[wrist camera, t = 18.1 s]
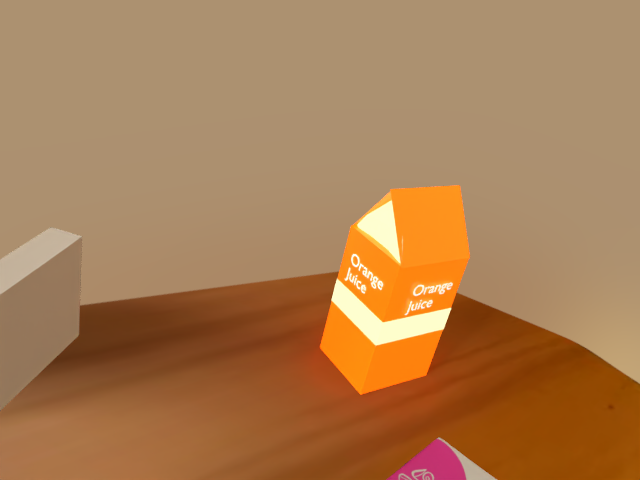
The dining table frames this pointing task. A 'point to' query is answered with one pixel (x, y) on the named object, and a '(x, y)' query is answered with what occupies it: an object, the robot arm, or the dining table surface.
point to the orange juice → (397, 286)
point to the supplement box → (440, 465)
